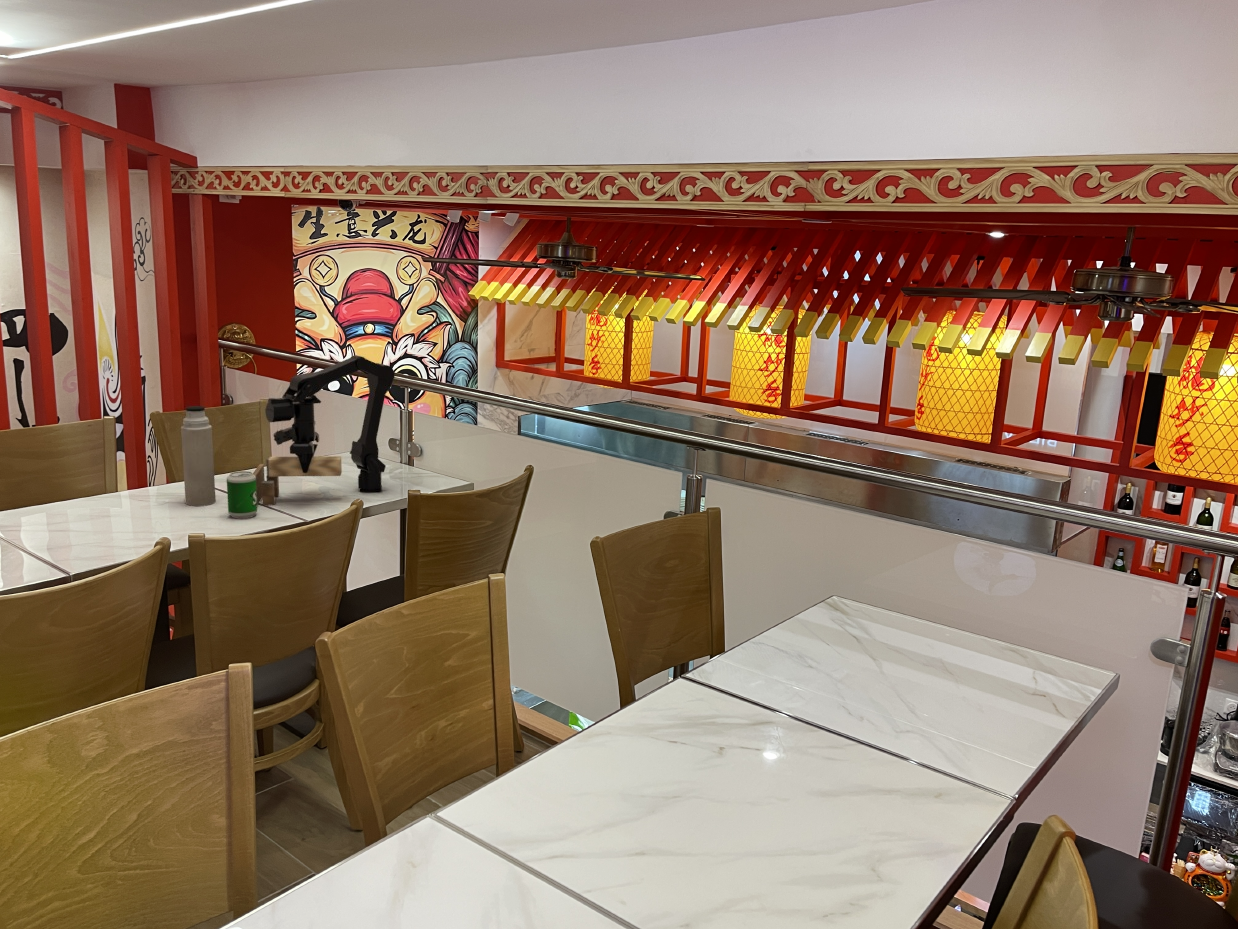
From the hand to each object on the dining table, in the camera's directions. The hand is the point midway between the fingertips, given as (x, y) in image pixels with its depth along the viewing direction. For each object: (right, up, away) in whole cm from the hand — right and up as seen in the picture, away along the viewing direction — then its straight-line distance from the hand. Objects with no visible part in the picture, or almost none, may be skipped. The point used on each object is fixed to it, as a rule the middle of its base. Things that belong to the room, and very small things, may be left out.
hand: (305, 471), depth 279 cm
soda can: (-12, -12, -16) cm, 24 cm away
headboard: (-11, -9, 0) cm, 14 cm away
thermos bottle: (-29, -9, -6) cm, 30 cm away
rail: (0, -1, 0) cm, 1 cm away
